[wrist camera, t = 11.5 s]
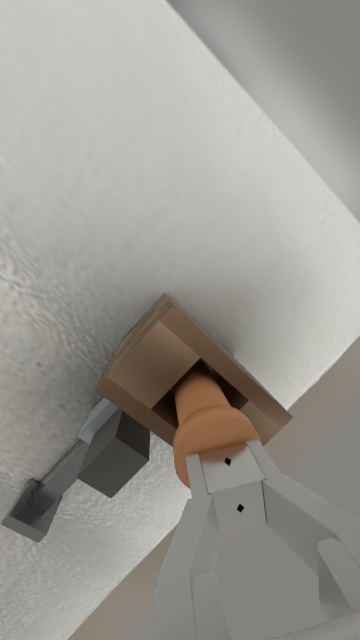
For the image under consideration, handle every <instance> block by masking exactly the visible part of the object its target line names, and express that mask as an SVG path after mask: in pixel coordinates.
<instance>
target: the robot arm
mask: <svg viewBox="0 0 360 640" xmlns="http://www.w3.org/2000/svg"><path fill="white" fill-rule="evenodd" d="M186 463H187V470H188V476H189V482H190V489H191V495H192V499H188V501H187V503H186V506H185V508H184V511H183V514H182V516H181V519H180V521H179V524H178V527H177V529H176V532H175V534H174V537H173V539H172V542H171V545H170V547H169V549H168V552H167V555H166V557H165V560H164V562H163V565H162V567H161V570H160V572H159V575H158V578H157V580H156V583H155V594H154V640H231V639H230V634H229V629H228V624H227V620H226V615H225V610H224V605H223V601H222V596H221V591H220V586H219V581H218V577H217V576H216V575H215V568H216V562H217V557H218V551H219V545H220V540H221V537H220V536H223V535H226V534H229V533H232V532H235V531H239V530H242V529H246V528H250V527H255V526H259V525H263V524H267V526H269V528H270V529H271V530H272V531H274V533H276V534H277V535H278V537H279V538H281V540H282V541H284V543H286V545H287V546H289V548H290V549H291V550H292V551H293V552H294V553H295V554H297V556H298V557H299V558H300V559H301V560H302V561H303V562H304V563H305V564H306V565H308V567H309V568H310V569H311V570H312V571H313V572H314V573H315V574H316V575H317V576H318V577H319V601H320V602H319V603H320V613H321V615H322V617H323V619H324V621H325V622H324V623H320V624H317V625H314V626H311V627H307V628H304V629H301V630H298V631H295V632H291V633H288V634H285V635H282V636H278V637H275V638H272V639H269V640H360V521H359V520H357V519H356V518H354V517H353V516H351V515H349V514H348V513H346V512H345V511H343V510H341V509H340V508H338V507H337V506H335V505H333V504H332V503H330V502H329V501H327V500H325V499H324V498H322V497H320V496H319V495H317V494H316V493H314V492H313V491H311V490H309V489H307V488H306V487H304V486H303V485H301V484H300V483H298V482H297V481H295V480H293V479H291V478H290V477H289V476H287V475H281V474H280V472H279V471H278V469H277V468H276V466H275V464H274V463H273V461H272V460H271V458H270V456H269V455H268V453H267V452H266V450H265V449H264V447H263V446H262V444H261V442H260V441H259V440H258V439H254V440H250V441H246V442H242V443H238V444H234V445H230V446H227V447H223V448H219V449H214V450H209V451H205V452H200V453H199V454H198V453H197V454H192V455H187V456H186Z"/></svg>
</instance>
